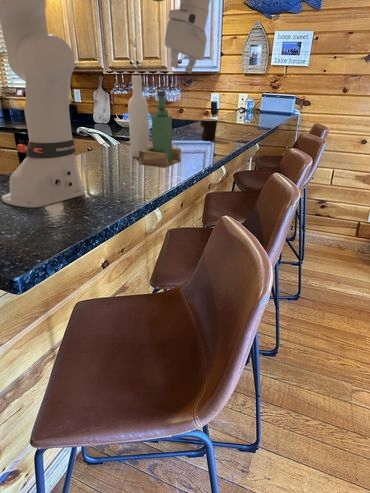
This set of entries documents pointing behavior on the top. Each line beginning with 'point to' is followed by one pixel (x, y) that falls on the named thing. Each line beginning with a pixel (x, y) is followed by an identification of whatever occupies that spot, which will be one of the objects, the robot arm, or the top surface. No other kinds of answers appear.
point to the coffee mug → (208, 129)
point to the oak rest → (159, 157)
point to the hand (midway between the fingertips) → (181, 70)
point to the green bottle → (162, 128)
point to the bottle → (138, 119)
